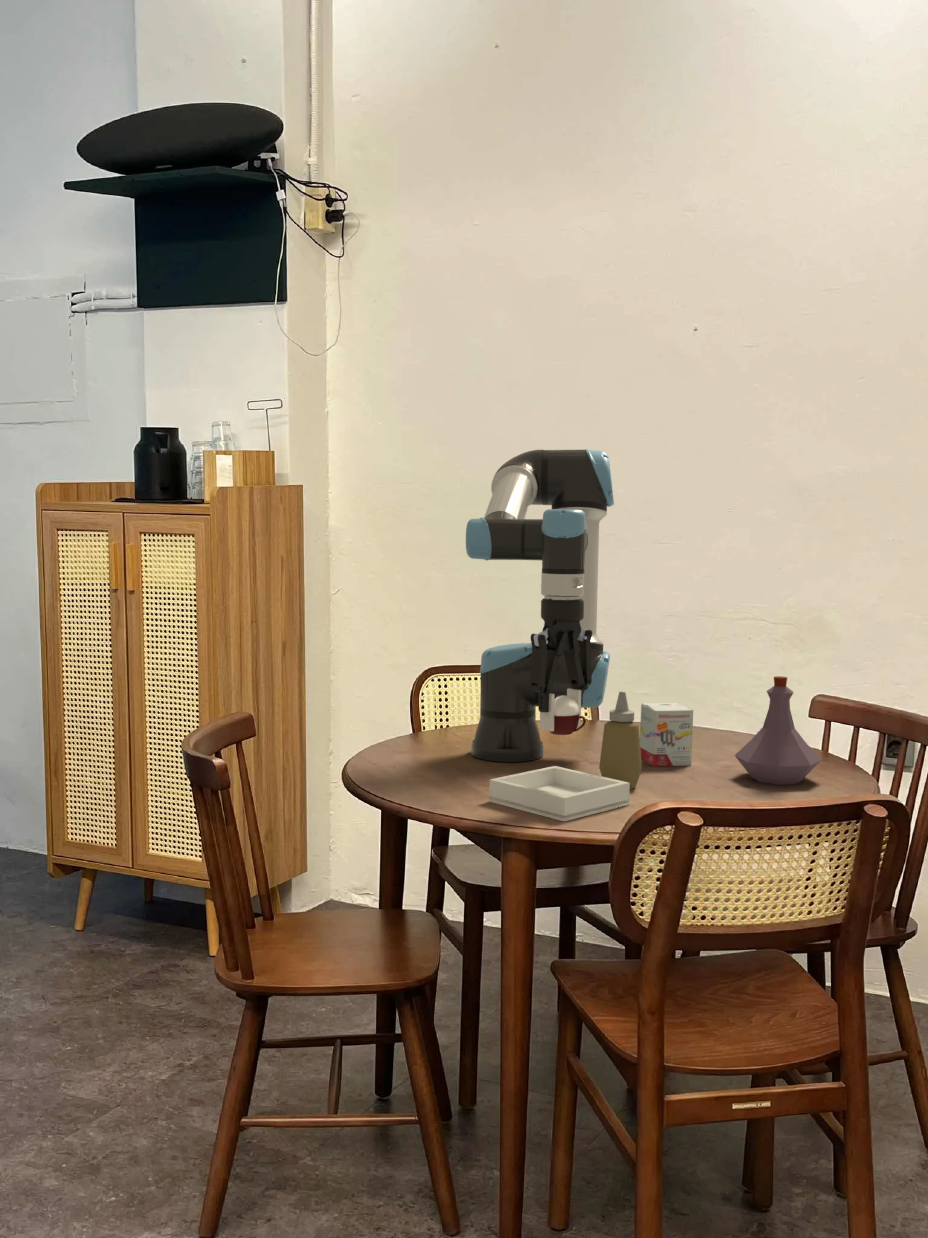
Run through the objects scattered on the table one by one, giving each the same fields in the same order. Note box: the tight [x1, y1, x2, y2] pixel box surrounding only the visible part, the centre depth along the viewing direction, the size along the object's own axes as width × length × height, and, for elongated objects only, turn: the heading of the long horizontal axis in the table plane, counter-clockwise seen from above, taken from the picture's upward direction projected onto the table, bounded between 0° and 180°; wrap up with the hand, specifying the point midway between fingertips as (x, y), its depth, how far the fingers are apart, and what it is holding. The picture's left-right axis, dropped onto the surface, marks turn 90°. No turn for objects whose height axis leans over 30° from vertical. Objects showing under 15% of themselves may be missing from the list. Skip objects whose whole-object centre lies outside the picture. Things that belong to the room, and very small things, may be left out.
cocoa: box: [545, 685, 587, 736], centre depth 220 cm, size 10×6×12 cm, turn 38°
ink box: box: [639, 702, 694, 768], centre depth 257 cm, size 9×9×12 cm
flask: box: [734, 675, 822, 786], centre depth 241 cm, size 16×16×20 cm
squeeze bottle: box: [599, 691, 643, 790], centre depth 234 cm, size 8×8×18 cm
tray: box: [489, 765, 630, 822], centre depth 222 cm, size 17×18×4 cm
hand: (560, 727), depth 221 cm, fingers closed on cocoa, 6 cm apart
